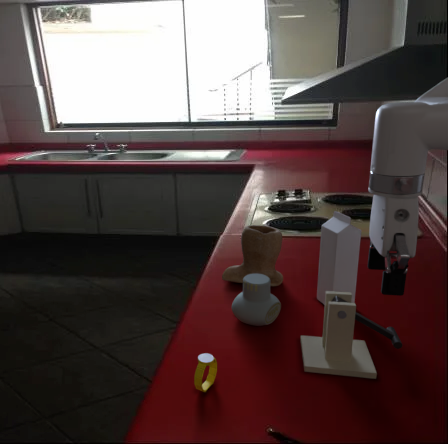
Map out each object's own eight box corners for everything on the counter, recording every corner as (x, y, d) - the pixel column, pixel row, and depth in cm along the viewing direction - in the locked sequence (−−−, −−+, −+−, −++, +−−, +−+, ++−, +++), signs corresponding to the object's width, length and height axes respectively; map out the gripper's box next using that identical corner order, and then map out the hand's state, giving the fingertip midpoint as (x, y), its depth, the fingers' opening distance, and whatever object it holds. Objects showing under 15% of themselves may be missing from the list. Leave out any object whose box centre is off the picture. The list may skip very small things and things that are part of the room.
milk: (338, 295, 102) (345, 208, 95) (354, 306, 96) (363, 215, 90) (315, 299, 101) (322, 211, 94) (331, 311, 95) (338, 219, 89)
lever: (389, 336, 78) (398, 327, 77) (397, 352, 73) (406, 342, 72) (327, 301, 79) (334, 291, 78) (330, 314, 74) (338, 304, 73)
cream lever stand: (364, 345, 82) (370, 287, 78) (376, 378, 73) (384, 314, 69) (300, 340, 85) (303, 283, 81) (304, 371, 76) (307, 309, 72)
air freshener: (260, 336, 87) (260, 293, 84) (226, 323, 93) (226, 282, 90) (284, 314, 95) (286, 274, 92) (252, 303, 100) (253, 265, 97)
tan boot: (285, 273, 115) (287, 222, 110) (280, 293, 105) (282, 237, 100) (231, 268, 121) (230, 218, 116) (221, 286, 110) (220, 232, 106)
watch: (205, 399, 71) (204, 370, 69) (190, 394, 72) (189, 365, 70) (221, 379, 75) (220, 351, 73) (207, 374, 77) (206, 346, 75)
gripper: (443, 197, 57) (426, 307, 62) (405, 172, 73) (394, 261, 78) (383, 197, 59) (371, 304, 64) (358, 172, 75) (351, 260, 80)
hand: (384, 280), depth 71 cm, fingers open, 9 cm apart
